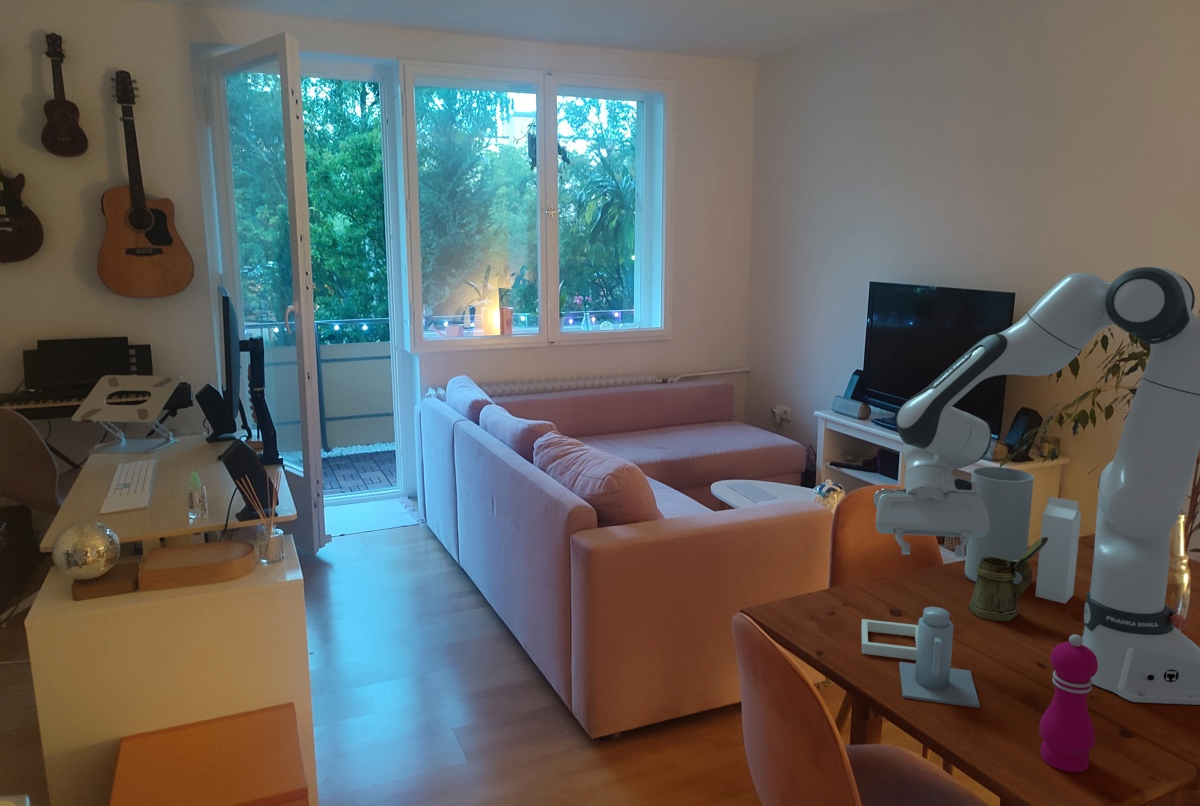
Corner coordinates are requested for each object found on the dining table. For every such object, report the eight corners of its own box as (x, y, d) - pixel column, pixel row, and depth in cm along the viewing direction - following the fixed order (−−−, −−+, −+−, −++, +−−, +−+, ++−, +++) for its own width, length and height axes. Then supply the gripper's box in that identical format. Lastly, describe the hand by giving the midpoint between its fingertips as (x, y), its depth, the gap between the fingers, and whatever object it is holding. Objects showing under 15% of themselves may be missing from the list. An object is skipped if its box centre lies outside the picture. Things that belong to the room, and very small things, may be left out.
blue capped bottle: (947, 676, 147) (952, 607, 145) (952, 699, 139) (957, 627, 137) (913, 671, 149) (917, 603, 146) (917, 694, 141) (921, 623, 139)
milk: (1043, 588, 185) (1051, 493, 182) (1073, 596, 181) (1082, 498, 178) (1034, 596, 181) (1043, 499, 177) (1065, 604, 177) (1074, 504, 173)
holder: (919, 634, 164) (920, 625, 163) (924, 661, 153) (924, 651, 153) (861, 628, 167) (861, 619, 167) (862, 653, 157) (862, 643, 156)
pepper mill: (1064, 779, 119) (1077, 649, 116) (1025, 750, 126) (1036, 627, 122) (1104, 769, 121) (1118, 642, 118) (1064, 742, 128) (1076, 621, 124)
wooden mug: (1039, 630, 165) (1047, 544, 162) (966, 615, 172) (972, 533, 169) (1042, 613, 173) (1049, 530, 170) (971, 600, 180) (977, 520, 176)
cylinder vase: (984, 564, 200) (992, 464, 195) (1035, 581, 189) (1045, 475, 185) (953, 576, 193) (960, 472, 188) (1004, 594, 183) (1013, 484, 178)
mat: (970, 673, 149) (970, 670, 149) (979, 708, 138) (979, 705, 138) (899, 664, 152) (899, 661, 152) (902, 697, 141) (903, 694, 141)
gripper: (873, 480, 164) (874, 544, 156) (986, 483, 158) (993, 550, 150) (872, 496, 168) (874, 558, 161) (982, 499, 163) (989, 564, 155)
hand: (932, 554), depth 155 cm, fingers open, 8 cm apart
